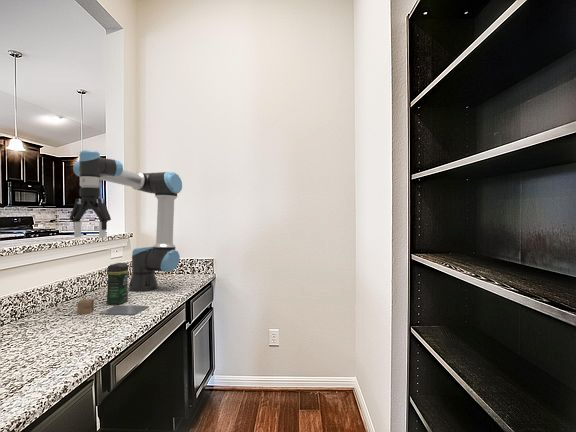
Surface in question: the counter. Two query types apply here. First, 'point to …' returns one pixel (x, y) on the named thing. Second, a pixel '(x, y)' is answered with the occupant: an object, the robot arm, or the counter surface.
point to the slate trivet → (124, 310)
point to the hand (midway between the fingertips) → (89, 237)
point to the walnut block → (85, 306)
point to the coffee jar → (117, 283)
